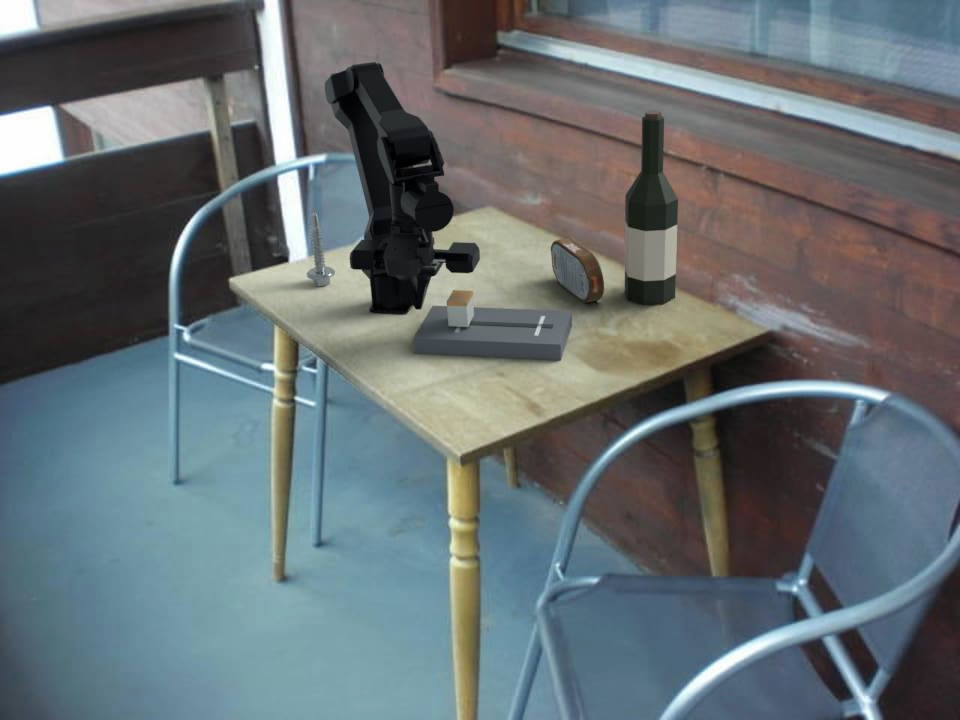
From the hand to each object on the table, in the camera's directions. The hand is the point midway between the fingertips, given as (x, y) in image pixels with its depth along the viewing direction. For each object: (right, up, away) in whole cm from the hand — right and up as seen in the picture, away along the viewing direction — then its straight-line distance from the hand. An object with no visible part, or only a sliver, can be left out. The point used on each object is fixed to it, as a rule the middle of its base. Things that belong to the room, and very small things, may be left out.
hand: (418, 308), depth 175 cm
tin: (+25, +3, +14) cm, 29 cm away
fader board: (+12, -5, 0) cm, 12 cm away
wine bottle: (+37, +2, +12) cm, 39 cm away
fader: (+6, -2, -1) cm, 7 cm away
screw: (-18, +5, +23) cm, 30 cm away
